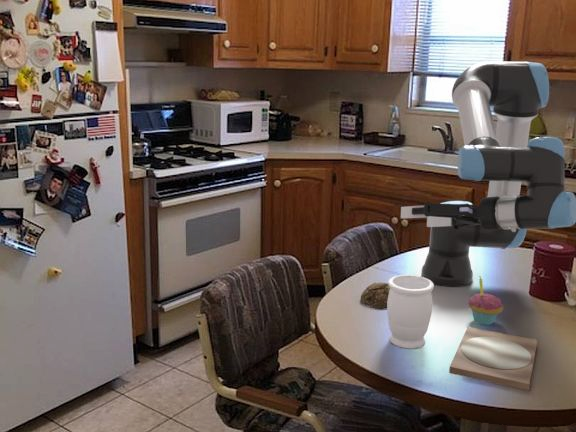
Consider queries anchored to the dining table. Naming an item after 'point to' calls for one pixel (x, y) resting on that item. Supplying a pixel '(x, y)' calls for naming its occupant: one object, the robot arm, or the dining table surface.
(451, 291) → the dining table surface
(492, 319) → the cupcake
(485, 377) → the board
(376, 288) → the bread roll
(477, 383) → the dining table surface
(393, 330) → the jar
